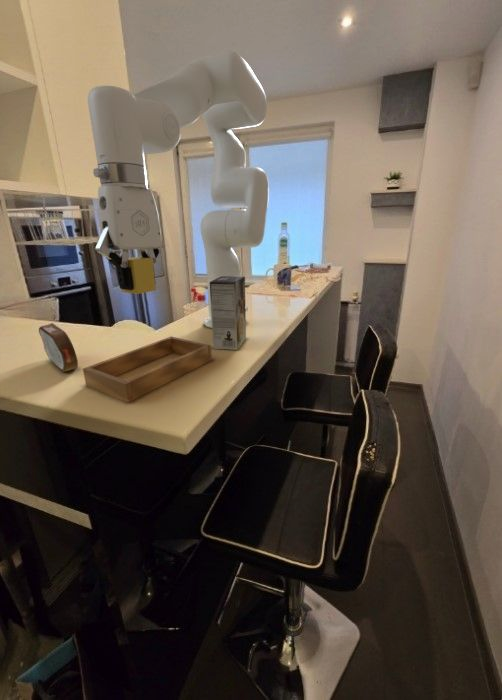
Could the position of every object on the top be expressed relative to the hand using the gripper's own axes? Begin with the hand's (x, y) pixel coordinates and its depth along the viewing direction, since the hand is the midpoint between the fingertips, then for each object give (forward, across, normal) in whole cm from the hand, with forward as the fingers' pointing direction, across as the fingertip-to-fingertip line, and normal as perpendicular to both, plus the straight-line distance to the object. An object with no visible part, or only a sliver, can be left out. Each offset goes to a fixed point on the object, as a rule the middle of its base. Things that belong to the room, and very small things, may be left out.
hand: (138, 285), depth 62 cm
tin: (+17, -9, +17) cm, 26 cm away
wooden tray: (+17, -1, -3) cm, 17 cm away
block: (+1, 0, 0) cm, 1 cm away
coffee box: (+17, +21, -6) cm, 28 cm away
